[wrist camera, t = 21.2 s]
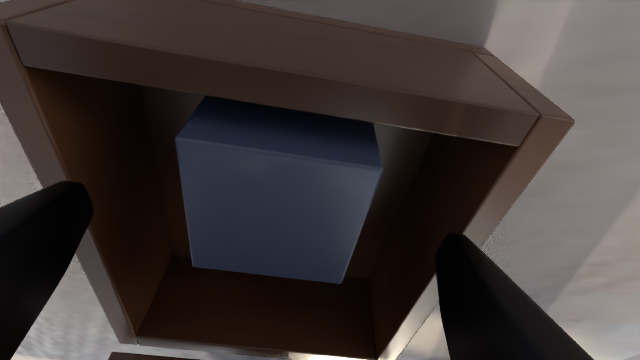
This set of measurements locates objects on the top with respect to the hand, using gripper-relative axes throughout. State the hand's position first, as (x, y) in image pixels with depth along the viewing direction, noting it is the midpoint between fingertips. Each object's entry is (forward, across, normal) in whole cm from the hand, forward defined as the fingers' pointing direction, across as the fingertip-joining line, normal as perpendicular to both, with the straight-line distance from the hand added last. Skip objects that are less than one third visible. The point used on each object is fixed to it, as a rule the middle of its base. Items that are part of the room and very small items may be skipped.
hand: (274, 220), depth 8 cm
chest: (+5, 0, +2) cm, 6 cm away
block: (+4, 0, 0) cm, 4 cm away
